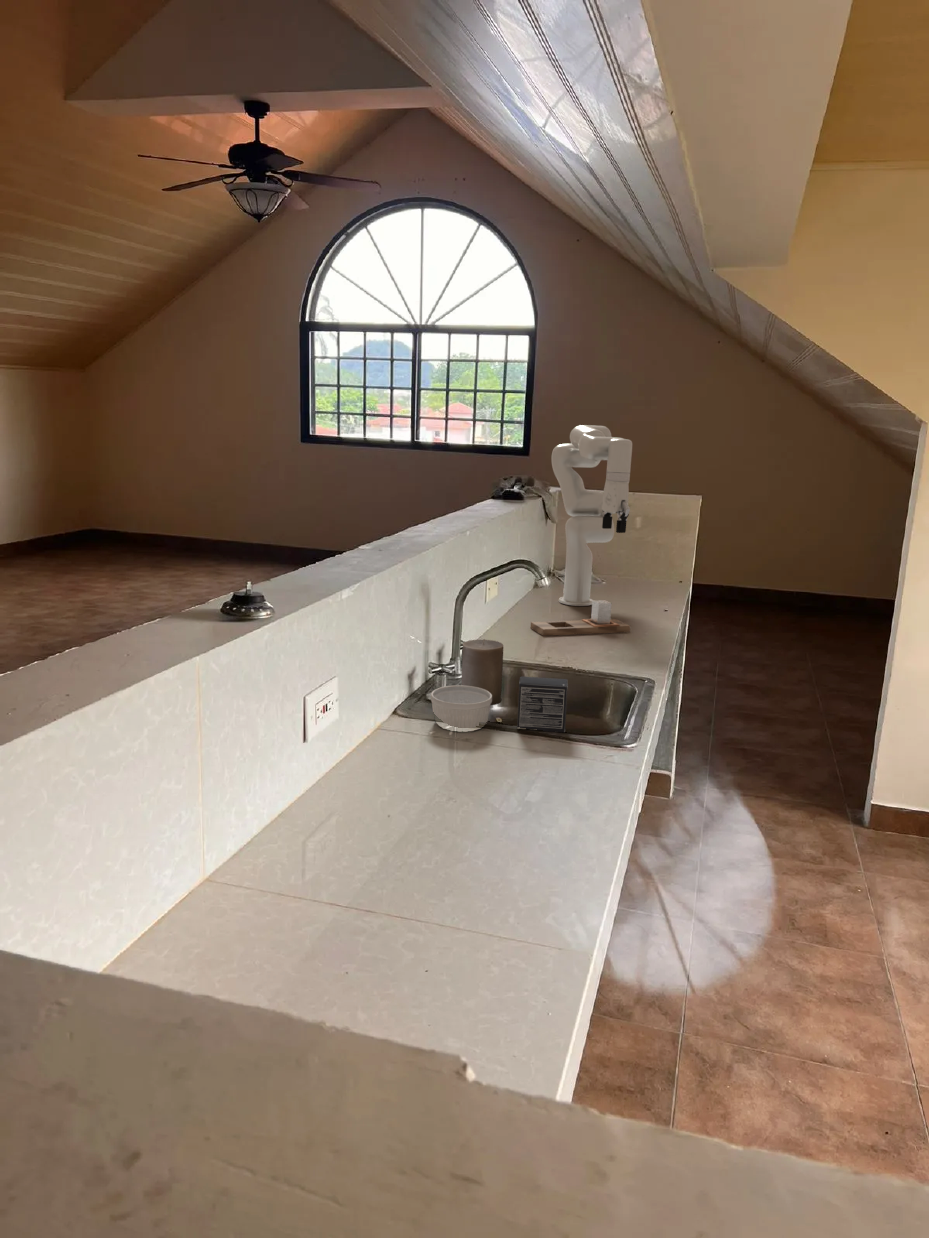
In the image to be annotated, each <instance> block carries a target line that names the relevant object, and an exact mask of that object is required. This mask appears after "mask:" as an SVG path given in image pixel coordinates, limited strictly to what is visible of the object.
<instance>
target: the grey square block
mask: <svg viewBox="0 0 929 1238" xmlns="http://www.w3.org/2000/svg"><path fill="white" fill-rule="evenodd" d="M611 613H612V602H611V601H608V600H605V599H604V600H603V599H600V600H594V601H592V605H591V614H590V615H591V616H590V619H591V622H592V623H594V624H596V625H601V624H610V619H611V617H612V614H611Z"/></svg>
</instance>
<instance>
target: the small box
mask: <svg viewBox="0 0 929 1238" xmlns="http://www.w3.org/2000/svg"><path fill="white" fill-rule="evenodd" d="M518 682H519V684H518V701H517V703H518V704H517V705H518V706H517V707H518V708H517V723H516V724H517V726H516V728H517V727H520V728H526V729H537V730H543V731H542V732H551V733H552V732H553V733H565V732H566V722H567V705H568V704H567V703H568V688H569V686H568V685H569V684H568V679H567V678H554V677H553V678H552V677H551V678H550V677H535V676H520V677H519V681H518Z"/></svg>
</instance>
